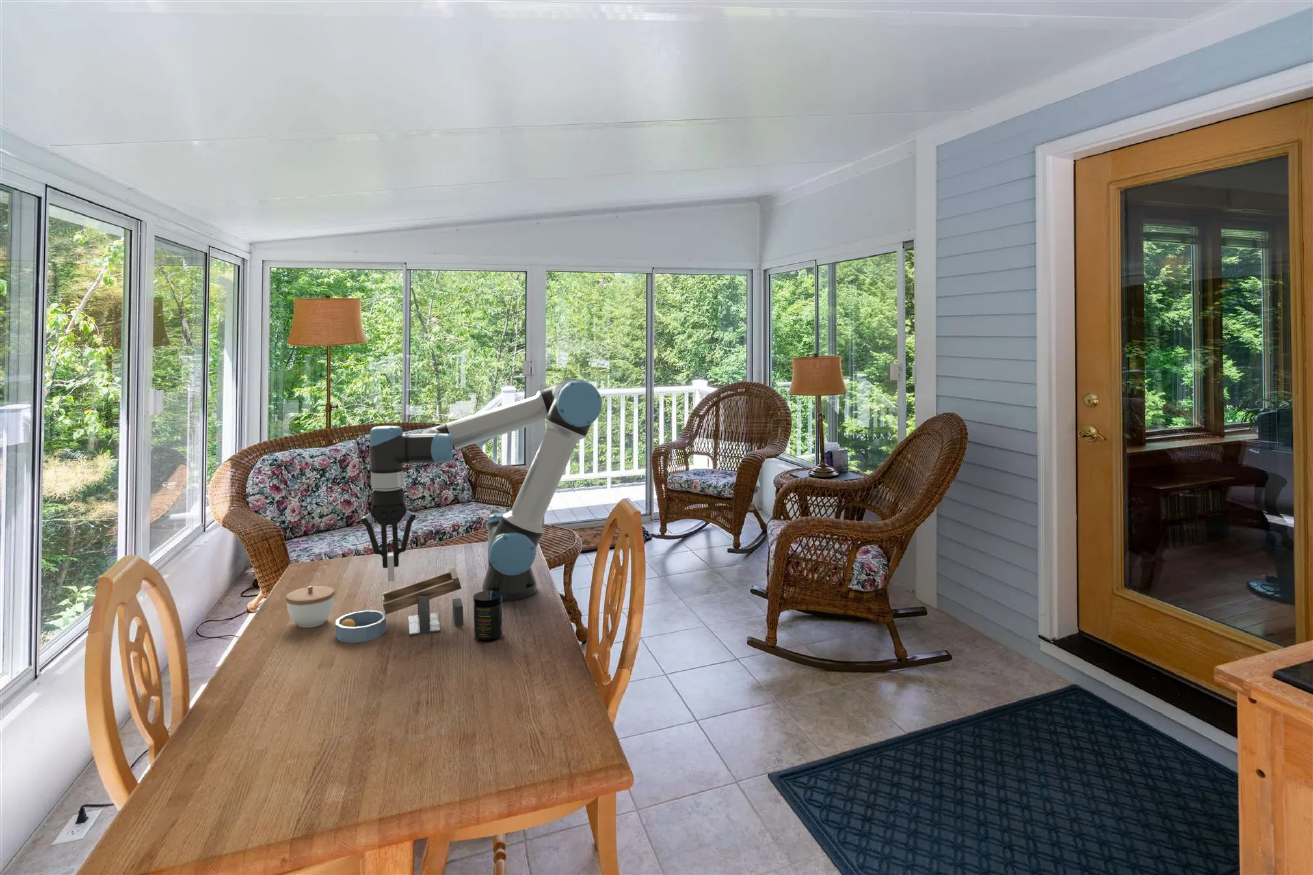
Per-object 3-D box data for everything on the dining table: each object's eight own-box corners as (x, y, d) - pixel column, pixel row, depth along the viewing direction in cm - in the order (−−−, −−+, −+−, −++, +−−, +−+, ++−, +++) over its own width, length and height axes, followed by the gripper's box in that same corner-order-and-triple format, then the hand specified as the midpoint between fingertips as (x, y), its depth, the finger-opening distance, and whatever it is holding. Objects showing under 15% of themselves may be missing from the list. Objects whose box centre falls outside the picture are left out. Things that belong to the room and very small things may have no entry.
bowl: (386, 621, 168) (385, 608, 167) (386, 638, 157) (385, 624, 157) (338, 627, 163) (337, 613, 163) (334, 645, 153) (334, 630, 153)
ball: (342, 616, 160) (340, 629, 160) (341, 621, 157) (339, 634, 157) (356, 617, 161) (354, 629, 161) (355, 621, 158) (353, 634, 158)
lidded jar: (315, 633, 160) (313, 595, 159) (277, 629, 162) (275, 592, 161) (344, 616, 170) (343, 581, 169) (308, 613, 172) (306, 578, 171)
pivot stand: (437, 614, 172) (436, 580, 171) (440, 632, 161) (439, 595, 160) (408, 618, 170) (407, 583, 169) (409, 636, 159) (408, 599, 158)
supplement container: (503, 641, 157) (502, 599, 155) (473, 644, 155) (473, 601, 154) (502, 630, 163) (501, 589, 162) (473, 633, 161) (473, 591, 160)
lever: (456, 572, 177) (453, 561, 176) (461, 588, 164) (458, 577, 164) (384, 596, 170) (380, 585, 170) (383, 615, 158) (379, 603, 157)
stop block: (460, 615, 172) (460, 598, 171) (463, 624, 166) (463, 605, 166) (452, 616, 171) (452, 598, 171) (455, 625, 166) (454, 606, 165)
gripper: (415, 483, 172) (417, 572, 174) (359, 486, 167) (363, 577, 170) (416, 489, 165) (419, 581, 167) (358, 492, 160) (362, 587, 163)
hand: (391, 579), depth 168 cm, fingers closed
